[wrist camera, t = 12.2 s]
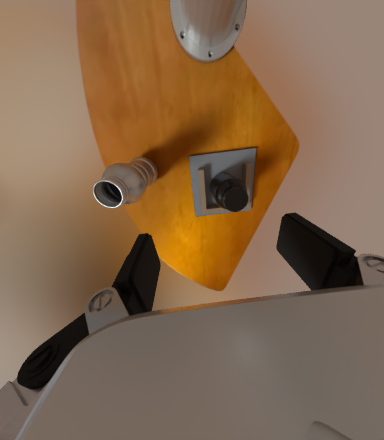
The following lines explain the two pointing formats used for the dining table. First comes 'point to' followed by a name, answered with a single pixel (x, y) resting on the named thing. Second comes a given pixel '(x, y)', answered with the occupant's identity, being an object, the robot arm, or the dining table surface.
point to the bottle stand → (212, 165)
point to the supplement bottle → (229, 192)
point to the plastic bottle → (125, 182)
